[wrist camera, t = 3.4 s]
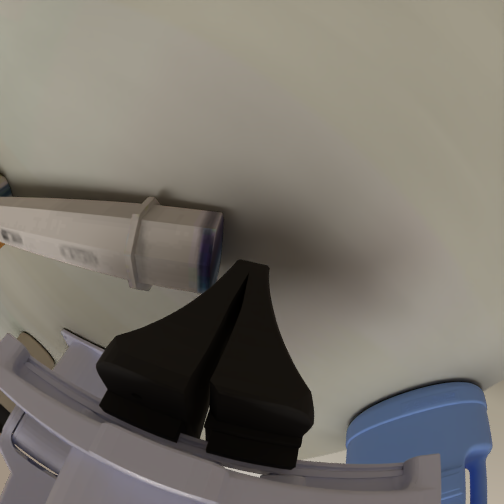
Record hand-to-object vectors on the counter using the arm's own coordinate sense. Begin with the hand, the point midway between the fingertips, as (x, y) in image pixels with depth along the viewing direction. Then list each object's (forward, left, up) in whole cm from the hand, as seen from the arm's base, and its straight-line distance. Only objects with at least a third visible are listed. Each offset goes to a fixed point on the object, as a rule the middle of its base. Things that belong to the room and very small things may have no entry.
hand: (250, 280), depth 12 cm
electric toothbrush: (0, +14, -3) cm, 14 cm away
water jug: (-16, -20, -3) cm, 25 cm away
